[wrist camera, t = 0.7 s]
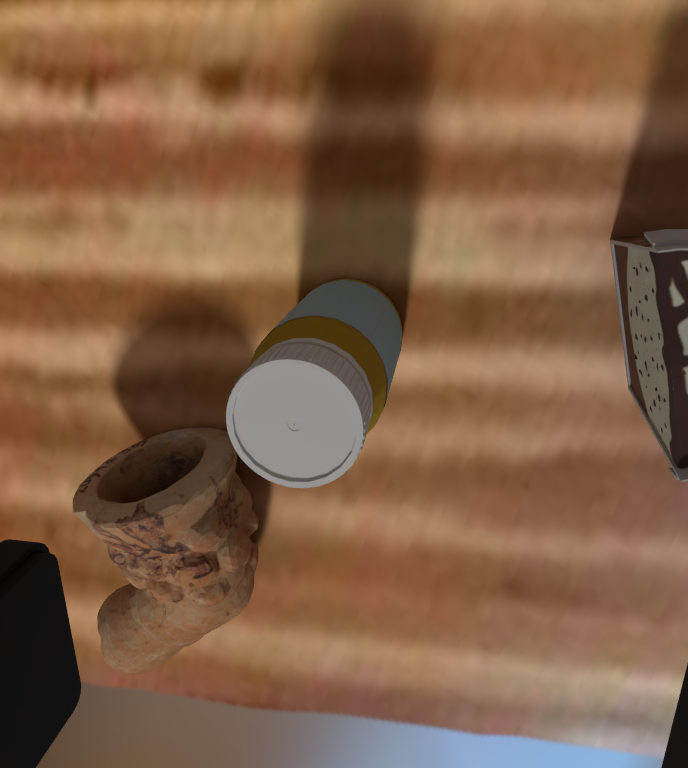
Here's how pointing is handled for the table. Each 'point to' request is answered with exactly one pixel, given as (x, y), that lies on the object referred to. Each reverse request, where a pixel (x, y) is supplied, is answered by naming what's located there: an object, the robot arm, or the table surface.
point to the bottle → (316, 385)
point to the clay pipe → (170, 543)
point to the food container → (657, 333)
